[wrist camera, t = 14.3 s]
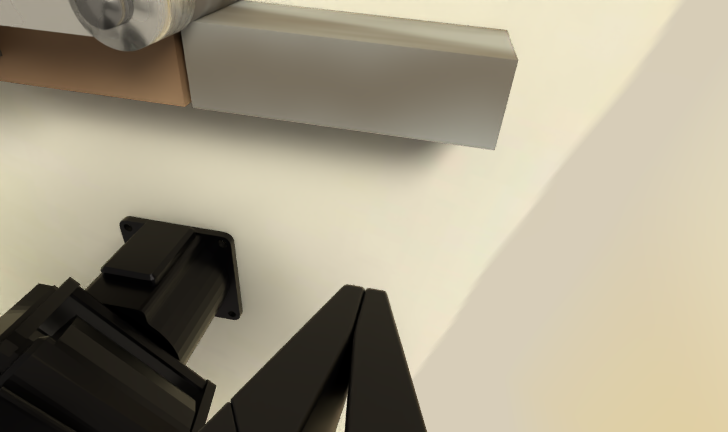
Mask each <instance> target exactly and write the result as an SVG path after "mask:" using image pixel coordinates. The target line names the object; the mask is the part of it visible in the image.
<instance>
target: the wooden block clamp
mask: <svg viewBox="0 0 728 432" xmlns="http://www.w3.org/2000/svg"><path fill="white" fill-rule="evenodd" d="M517 63H518V58H517V56H516V53H515V50H514V47H513V45H512V42H511V39H510V36H509V34H508V31H507V30H501V29H492V28H483V27H474V26H466V25H457V24H448V23H439V22H430V21H421V20H413V19H404V18H395V17H386V16H377V15H368V14H360V13H351V12H342V11H333V10H324V9H315V8H307V7H298V6H289V5H280V4H271V3H262V2H254V1H245V0H195V10H194V14H193V17H192V19H191V21H190V22H189V24H188V25H187V26H186V27H185V28H184V29H183V30H181V31H179V32H177V33H175V34H173V35H171V36H168V37H166V38H164V39H162V40H160V41H157V42H155V43H153V44H151V45H149V46H146V47H144V48H142V49H140V50H136V51H120V50H116V49H113V48H111V47H108V46H106V45H105V44H103V43H101V42H100V41H98V40H97V39H96V38H94V37H92V36H84V35H76V34H68V33H60V32H51V31H43V30H35V29H27V28H19V27H10V26H2V25H0V81H5V82H12V83H19V84H26V85H33V86H40V87H47V88H54V89H62V90H69V91H76V92H83V93H90V94H97V95H104V96H111V97H119V98H126V99H133V100H140V101H147V102H154V103H161V104H168V105H176V106H183V107H185V106H187V105H188V104H189V103H191V102H192V107H193V108H197V109H204V110H211V111H218V112H225V113H233V114H240V115H247V116H254V117H261V118H268V119H275V120H282V121H290V122H297V123H304V124H311V125H318V126H325V127H332V128H339V129H347V130H354V131H361V132H368V133H375V134H382V135H389V136H396V137H404V138H411V139H418V140H425V141H432V142H439V143H446V144H453V145H461V146H468V147H475V148H482V149H489V150H495V147H496V143H497V139H498V136H499V132H500V128H501V124H502V120H503V116H504V113H505V109H506V105H507V101H508V97H509V94H510V90H511V86H512V82H513V78H514V74H515V71H516V67H517Z"/></svg>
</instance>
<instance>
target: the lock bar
mask: <svg viewBox="0 0 728 432" xmlns="http://www.w3.org/2000/svg"><path fill="white" fill-rule="evenodd" d="M194 10H195V0H0V25H2V26H10V27H19V28H27V29H35V30H43V31H51V32H60V33H68V34H76V35H84V36H92V37H94V38H96V39H97V40H98V41H100V42H101V43H103V44H105V45H106V46H108V47H111V48H113V49H116V50H120V51H136V50H140V49H142V48H144V47H146V46H149V45H151V44H153V43H155V42H157V41H160V40H162V39H164V38H166V37H168V36H171V35H173V34H175V33H177V32H179V31H181V30H183V29H184V28H185V27H186V26H187V25H188V24H189V22H190V21H191V19H192V17H193V14H194Z"/></svg>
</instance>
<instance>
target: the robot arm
mask: <svg viewBox="0 0 728 432" xmlns="http://www.w3.org/2000/svg"><path fill="white" fill-rule="evenodd" d="M120 229H121V232H122V236H123V239H124V242H125V244H124V245H123V246H122V247H121V248H120V249H119V250H118V251H117V252H116V253H115V254H114V255H113V256H112V257H111V258H110V259H109V260H108V261H107V262H106V263H105V264H104V265H103V266H102V267H101V272H102V273H101V274H100V275H99V276H98V277H97V278H96V279H95V280H94V281H93V282H92V283H91V284H90V285H89V286H88V287H87V288H86V289H85V290H84V289H82V288H81V287H80V286H79V285H80V284H79V283H78V282H76V281H75V280H74V279H72V278H71V277H70V278H68V279H67V280H66V281H65V282H64V283H63V284H62V285H61V286H60V287H59V288H58V287H56V286H55V285H54V286H49V285H44V284H38V285H36V286H35V287H34V288H33V289H32V290H31V291H30V292H29V293H28V294H26V295H25V296H24V297H23V298H22V299H21V300H20V301H19V302H18V303H16V304H15V305H14V306H13V307H12V308H11V309H10V310H8V311H7V312H6V313H5V314H4V315H3V316H1V317H0V432H335V431H336V428H337V425H338V422H339V419H340V416H341V413H342V410H343V407H344V404H345V400H346V397H347V408H346V421H345V432H427V430H426V427H425V424H424V420H423V416H422V413H421V410H420V406H419V403H418V399H417V396H416V393H415V389H414V386H413V382H412V379H411V375H410V372H409V368H408V365H407V361H406V358H405V354H404V351H403V348H402V344H401V341H400V337H399V334H398V330H397V327H396V323H395V320H394V316H393V313H392V310H391V306H390V303H389V299H388V296H387V293H386V292H385V291H383V290H377V289H371V288H367V289H366V290H365V289H364V288H363V287H360V286H354V285H348V284H347V285H344V286H343V287H342V288H341V289H340V290H339V291H338V292H337V293H336V294H335V295H334V296H333V297H332V298H331V299H330V300H329V301H328V302H327V303H326V304H325V305H324V306H323V307H322V308H321V309H320V310H319V311H318V312H317V313H316V314H315V315H314V316H313V317H312V318H311V319H310V320H309V321H308V322H307V323H306V324H305V325H304V326H303V327H302V328H301V329H300V330H299V331H298V332H297V333H296V334H295V335H294V336H293V337H292V338H291V339H290V340H289V341H288V342H287V343H286V344H285V345H284V346H283V347H282V348H281V349H280V350H279V351H278V352H277V353H276V354H275V355H274V356H273V357H272V358H271V359H270V360H269V361H268V362H267V363H266V364H265V365H264V366H263V367H262V368H261V369H260V370H259V371H258V372H257V373H256V374H255V375H254V376H253V377H252V378H251V379H250V380H249V381H248V382H247V383H246V384H245V385H244V386H243V387H242V388H241V389H240V390H239V391H238V392H237V393H236V394H235V395H234V396H233V397H232V398H231V403H230V402H227V403H226V404H225V405H224V406H223V407H222V408H221V409H220V410H219V411H218V412H217V413H216V414H215V415H214V416H213V417H212V418H211V419H210V420H209V421H208V422H207V423H206V420H207V416H208V413H209V409H210V406H211V403H212V399H213V396H214V392H215V389H216V385H215V384H213V383H212V382H211V381H209V380H205V379H203V378H202V377H201V376H199V375H198V374H197V373H195V372H194V371H193V370H191V369H190V368H189V367H187V366H186V363H187V361H188V360H189V358H190V356H191V354H192V353H193V351H194V349H195V348H196V346H197V344H198V343H199V341H200V339H201V338H202V336H203V334H204V333H205V331H206V329H207V328H208V326H209V324H210V323H211V321H212V319H213V318H214V316H216V317H221V318H226V319H232V320H237V319H239V318H240V316H241V314H242V303H241V294H240V286H239V278H238V269H237V261H236V253H235V244H234V239H233V237H232V236H231V235H230V234H228V233H225V232H220V231H214V230H208V229H202V228H196V227H190V226H184V225H178V224H172V223H167V222H161V221H155V220H149V219H143V218H137V217H131V216H127V217H125V218H124V219H123V220H122V221H121V222H120ZM222 240H223V241H225V242H226V243H224V242H223V241H222ZM347 393H348V396H347ZM205 423H206V424H205Z"/></svg>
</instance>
